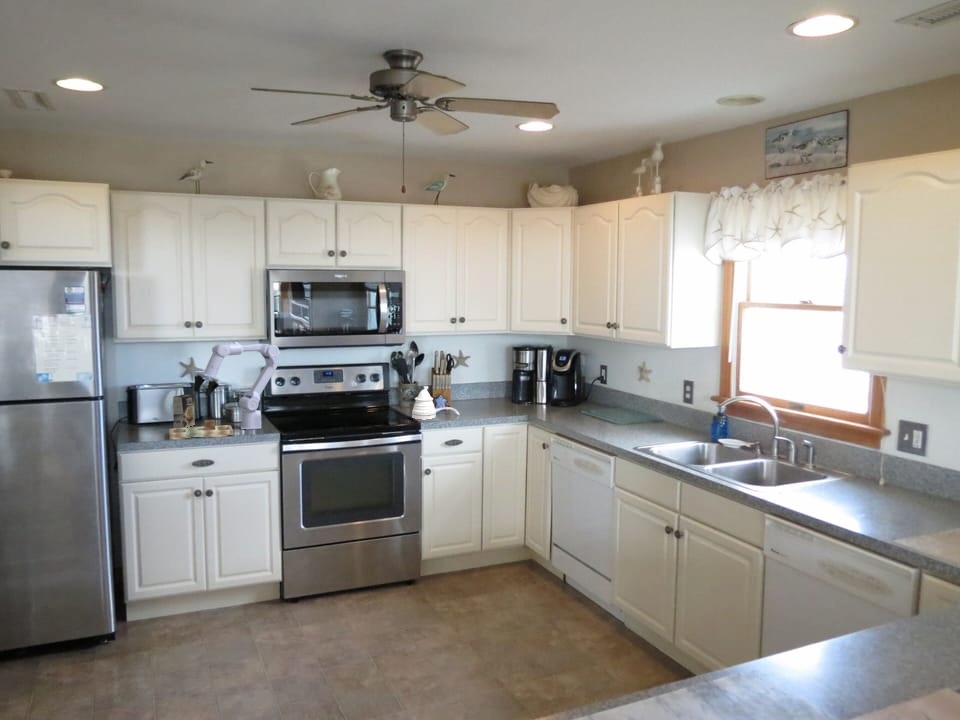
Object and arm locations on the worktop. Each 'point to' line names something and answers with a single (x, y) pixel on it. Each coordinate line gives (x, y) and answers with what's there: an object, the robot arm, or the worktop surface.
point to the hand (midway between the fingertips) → (201, 393)
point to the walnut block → (209, 424)
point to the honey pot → (424, 406)
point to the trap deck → (200, 432)
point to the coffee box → (183, 411)
